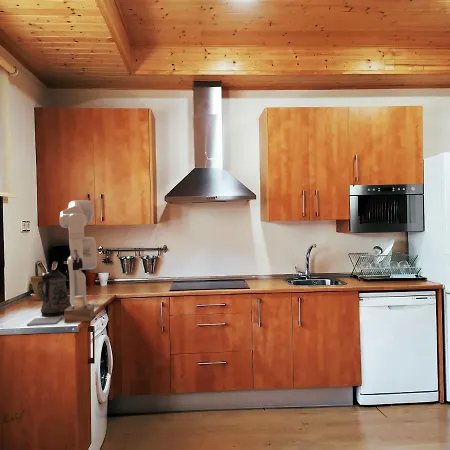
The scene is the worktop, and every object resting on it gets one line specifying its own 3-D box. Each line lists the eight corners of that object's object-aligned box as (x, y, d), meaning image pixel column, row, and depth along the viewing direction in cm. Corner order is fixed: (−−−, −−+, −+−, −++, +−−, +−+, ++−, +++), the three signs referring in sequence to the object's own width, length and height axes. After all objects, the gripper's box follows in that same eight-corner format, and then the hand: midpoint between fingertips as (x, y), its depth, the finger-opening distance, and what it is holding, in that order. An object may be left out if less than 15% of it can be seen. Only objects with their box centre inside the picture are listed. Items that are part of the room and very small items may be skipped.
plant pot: (59, 297, 308) (58, 274, 308) (45, 301, 294) (44, 277, 294) (41, 297, 312) (40, 274, 312) (26, 301, 298) (25, 277, 298)
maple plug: (75, 318, 237) (74, 295, 237) (85, 317, 238) (85, 295, 238) (73, 320, 232) (72, 297, 232) (84, 319, 233) (83, 297, 233)
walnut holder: (69, 317, 241) (69, 306, 241) (94, 315, 243) (93, 304, 243) (64, 322, 228) (64, 310, 228) (90, 320, 230) (90, 309, 230)
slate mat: (34, 319, 237) (34, 318, 237) (62, 318, 239) (62, 316, 239) (27, 325, 223) (27, 324, 223) (56, 324, 225) (56, 322, 225)
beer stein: (75, 310, 260) (74, 267, 259) (64, 317, 240) (63, 271, 240) (47, 311, 259) (45, 268, 259) (34, 318, 240) (32, 272, 240)
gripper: (72, 236, 243) (73, 268, 243) (66, 237, 226) (67, 271, 226) (86, 236, 244) (87, 267, 244) (81, 237, 227) (82, 270, 227)
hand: (77, 269), depth 235 cm, fingers open, 9 cm apart
